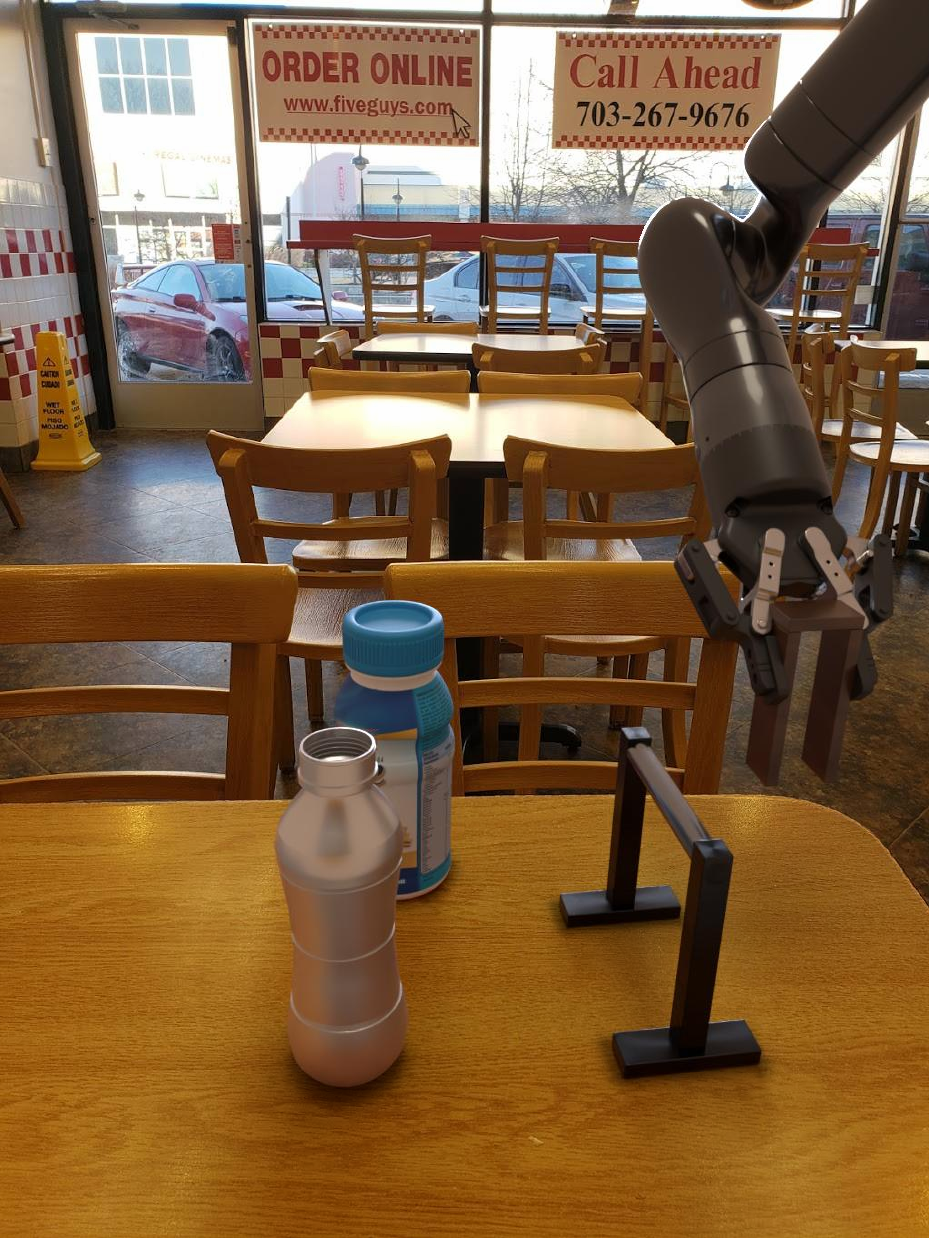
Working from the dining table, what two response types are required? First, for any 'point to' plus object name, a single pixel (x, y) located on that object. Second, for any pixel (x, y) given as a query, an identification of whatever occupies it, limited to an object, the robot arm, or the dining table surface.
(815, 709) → the two-legged arch bridge
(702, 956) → the rack
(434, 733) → the beverage bottle
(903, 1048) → the dining table surface
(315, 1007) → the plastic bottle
